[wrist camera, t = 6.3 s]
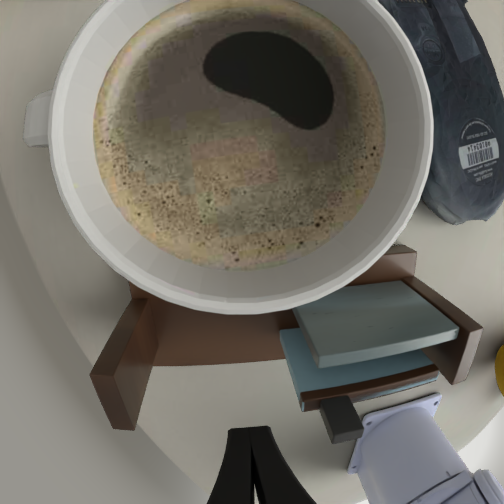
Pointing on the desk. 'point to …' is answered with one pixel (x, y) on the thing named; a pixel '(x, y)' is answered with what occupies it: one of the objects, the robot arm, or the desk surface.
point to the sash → (350, 383)
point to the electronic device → (457, 109)
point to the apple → (500, 369)
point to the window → (269, 325)
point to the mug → (238, 145)
